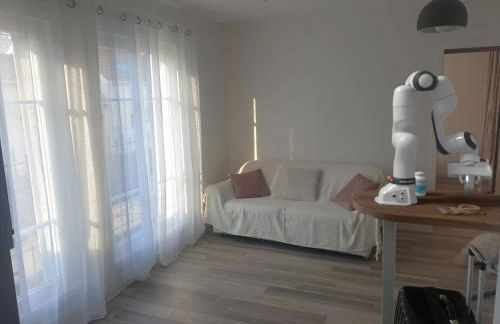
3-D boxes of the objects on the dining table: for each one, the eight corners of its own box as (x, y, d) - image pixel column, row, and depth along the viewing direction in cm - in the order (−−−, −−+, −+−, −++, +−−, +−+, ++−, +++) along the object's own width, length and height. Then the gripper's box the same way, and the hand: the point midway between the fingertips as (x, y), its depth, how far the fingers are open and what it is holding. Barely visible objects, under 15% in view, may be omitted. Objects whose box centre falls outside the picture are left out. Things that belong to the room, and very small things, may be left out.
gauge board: (444, 214, 180) (444, 209, 179) (437, 208, 190) (437, 204, 189) (484, 214, 177) (484, 209, 176) (475, 208, 187) (475, 204, 186)
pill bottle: (414, 192, 223) (414, 170, 221) (427, 194, 218) (427, 172, 216) (410, 195, 217) (410, 173, 215) (423, 197, 213) (424, 174, 211)
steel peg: (465, 196, 189) (467, 175, 187) (462, 194, 193) (463, 173, 192) (475, 196, 188) (476, 175, 186) (471, 194, 193) (472, 173, 191)
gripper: (447, 158, 199) (446, 179, 192) (492, 159, 189) (493, 182, 182) (446, 165, 203) (446, 186, 196) (490, 166, 194) (491, 189, 187)
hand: (469, 184), depth 189 cm, fingers closed on steel peg, 4 cm apart
